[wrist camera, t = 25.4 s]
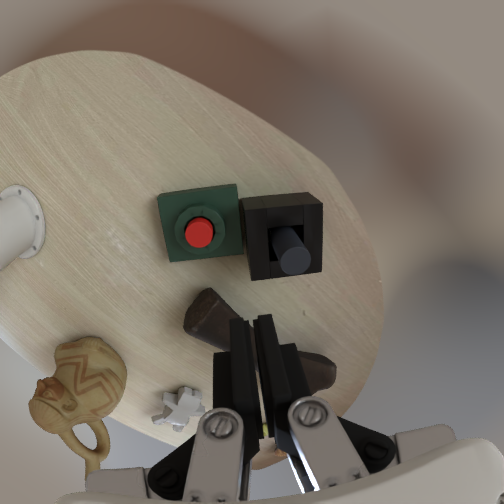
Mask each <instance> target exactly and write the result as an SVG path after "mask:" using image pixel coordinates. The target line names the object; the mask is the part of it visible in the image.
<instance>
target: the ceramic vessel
mask: <svg viewBox="0 0 504 504" xmlns="http://www.w3.org/2000/svg"><path fill="white" fill-rule="evenodd" d="M54 358H55V362H56V367H57V368H56V371H55V373H54V375H53V377H50V378H49V377H46V378H44V379H43V380H41V379H39V380H38V381H37V388H36V390H35V394H34V396H33V398H32V399H31V400H30V401H29V410H30V414H31V416H32V418H33V420H34V421H35V423H36V424H37V425H38V426H39V427H41V428H42V429H43V430H45V431H47V432H49V433H52V434H58V435H59V436H60V437H61V439H62V440H63V441H64V442H65V444H66V445H67V446H68V447H69V448H70V449H71V450H72V451H74V452H75V453H76V454H78V455H79V456H81V457H82V458H84V459H85V466H86V468H85V469H86V470H85V481H86V477H87V476H88V474H89V473H90V472H92V471H94V470H99V469H100V462H102V461H104V460H105V459H106V458H107V456H108V454H109V451H110V438H109V434H108V432H107V429H106V427H105V425H104V423H103V421H102V420H101V419H102V418H104V417H106V416H107V415H109V414H110V413H111V412H112V411H113V410H114V409H115V408H116V406H117V405H118V403H119V402H120V400H121V398H122V396H123V393H124V390H125V386H126V380H127V370H126V367H125V364H124V362H123V360H122V359H121V357H120V356H119V355H118V354H117V353H116V351H115V350H114V349H113V348H111V347H110V346H109V345H108V344H106V343H105V342H103V340H102V339H101V338H93V337H85V338H82V339H80V340H78V341H76V342H70V343H63V344H60V345H58V346H57V348H56V350H55V353H54ZM82 423H87V424H88V425H89V426H90V427H91V429H92V430H93V431H94V433H95V435H96V439H97V447H96V449H94V450H91V449H89V448H87V447H86V446H84V445H83V444H82V443H81V442H80V441H79V440H78V439H77V437H76V436H75V434H74V432H73V430H72V427H73V426H75V425H77V424H82Z"/></svg>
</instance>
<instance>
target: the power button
mask: <svg viewBox="0 0 504 504" xmlns="http://www.w3.org/2000/svg"><path fill="white" fill-rule="evenodd" d="M212 236H213V227H212V224H211V223H210V222H209V221H208V220H207V219H204V218H195V219H193V220H192V221H190V223H189V224H188V226H187V229H186V232H185V237H186V240H187V242H188V243H189V244H190V245H192V246H194V247H197V248H201V247H205V246H207V245H208V244H209V243H210V242H211V240H212Z"/></svg>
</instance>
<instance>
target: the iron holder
mask: <svg viewBox="0 0 504 504" xmlns="http://www.w3.org/2000/svg"><path fill="white" fill-rule="evenodd" d="M242 208H243V219H244V229H245V239H246V249H247V258H248V265H249V270H250V276H251V281H256V280H264V279H270V278H271V279H272V278H280V277H288V276H295V275H289V274H287V273H285V272H284V271H283V270H282V268H281V266H280V263H279V261H278V258H277V256H276V253H275V251H274V248H273V246H272V243H271V242H268V229H267V228H274V227H284V226H293V229H294V231H295V232H296V234H297V235H298V237H299V238H300V240H301V241H302V243H303V244H304V246H305V247H306V249H307V250H308V252H309V253H310V256H311V262H310V265H309V267H308V269H307V270H306V271H305V272H303V273H301V274H299V275H303V274H311V273H318V272H322V243H323V203H322V202H320V201H319V200H318V199H317V198H315V197H314V196H313V195H311V194H310V193H309V192H303V193H292V194H291V193H290V194H279V195H267V196H257V197H248V198H242Z"/></svg>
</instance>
